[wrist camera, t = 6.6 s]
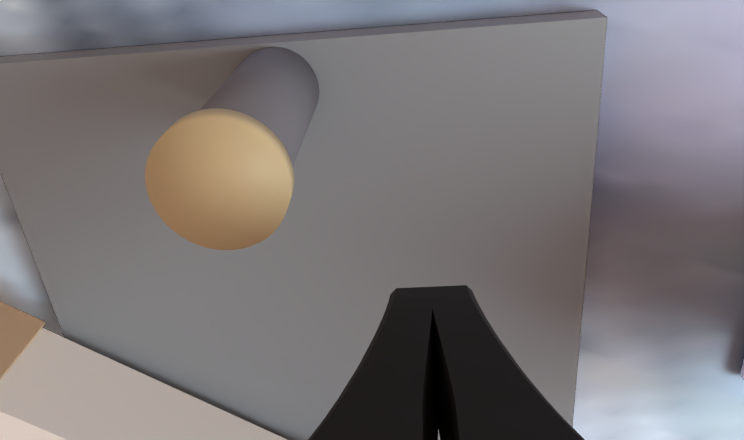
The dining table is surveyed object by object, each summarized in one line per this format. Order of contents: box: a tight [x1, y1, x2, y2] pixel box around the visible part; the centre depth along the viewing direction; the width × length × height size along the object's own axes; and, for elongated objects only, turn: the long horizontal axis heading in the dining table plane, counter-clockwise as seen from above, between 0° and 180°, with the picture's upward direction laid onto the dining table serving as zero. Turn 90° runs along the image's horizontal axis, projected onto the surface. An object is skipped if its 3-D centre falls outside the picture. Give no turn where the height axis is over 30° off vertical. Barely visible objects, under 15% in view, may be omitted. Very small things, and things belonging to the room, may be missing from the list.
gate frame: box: [0, 10, 607, 440], centre depth 19 cm, size 18×19×8 cm
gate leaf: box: [0, 301, 287, 440], centre depth 22 cm, size 12×2×4 cm, turn 59°
